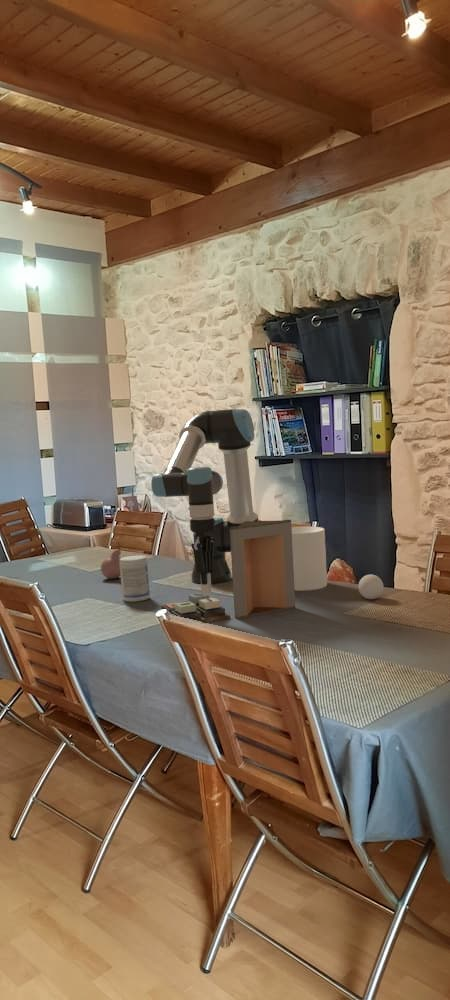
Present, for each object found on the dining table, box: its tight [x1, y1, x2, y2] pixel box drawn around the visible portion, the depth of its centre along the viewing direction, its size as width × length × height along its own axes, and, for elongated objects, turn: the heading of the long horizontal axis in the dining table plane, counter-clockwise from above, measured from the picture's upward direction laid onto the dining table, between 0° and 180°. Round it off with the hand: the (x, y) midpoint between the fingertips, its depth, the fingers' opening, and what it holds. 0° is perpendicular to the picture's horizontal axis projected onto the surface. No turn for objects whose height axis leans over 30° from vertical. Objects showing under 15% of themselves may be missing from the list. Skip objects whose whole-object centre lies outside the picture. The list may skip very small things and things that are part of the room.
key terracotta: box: [164, 601, 182, 609], centre depth 238 cm, size 5×5×2 cm
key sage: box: [175, 601, 196, 614], centre depth 230 cm, size 5×5×2 cm
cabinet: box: [230, 519, 296, 620], centre depth 237 cm, size 21×10×28 cm, turn 117°
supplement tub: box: [120, 555, 151, 603], centre depth 263 cm, size 10×10×15 cm
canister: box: [291, 526, 328, 592], centre depth 269 cm, size 16×16×20 cm
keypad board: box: [161, 600, 231, 624], centre depth 236 cm, size 17×19×3 cm
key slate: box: [188, 592, 210, 604], centre depth 241 cm, size 5×5×2 cm
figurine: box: [100, 548, 122, 580], centre depth 302 cm, size 9×11×12 cm
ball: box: [357, 573, 384, 600], centre depth 244 cm, size 8×8×8 cm
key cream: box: [199, 597, 222, 610], centre depth 233 cm, size 5×5×2 cm
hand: (206, 594), depth 233 cm, fingers closed
